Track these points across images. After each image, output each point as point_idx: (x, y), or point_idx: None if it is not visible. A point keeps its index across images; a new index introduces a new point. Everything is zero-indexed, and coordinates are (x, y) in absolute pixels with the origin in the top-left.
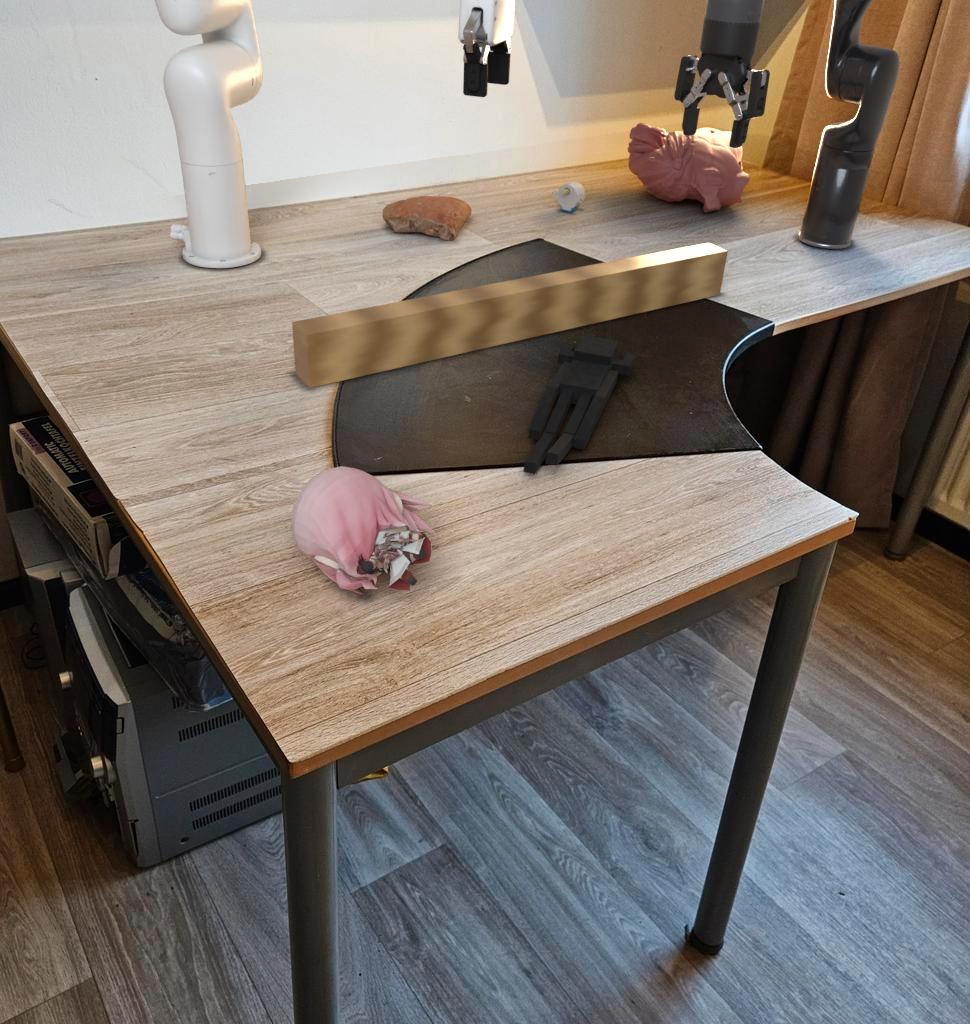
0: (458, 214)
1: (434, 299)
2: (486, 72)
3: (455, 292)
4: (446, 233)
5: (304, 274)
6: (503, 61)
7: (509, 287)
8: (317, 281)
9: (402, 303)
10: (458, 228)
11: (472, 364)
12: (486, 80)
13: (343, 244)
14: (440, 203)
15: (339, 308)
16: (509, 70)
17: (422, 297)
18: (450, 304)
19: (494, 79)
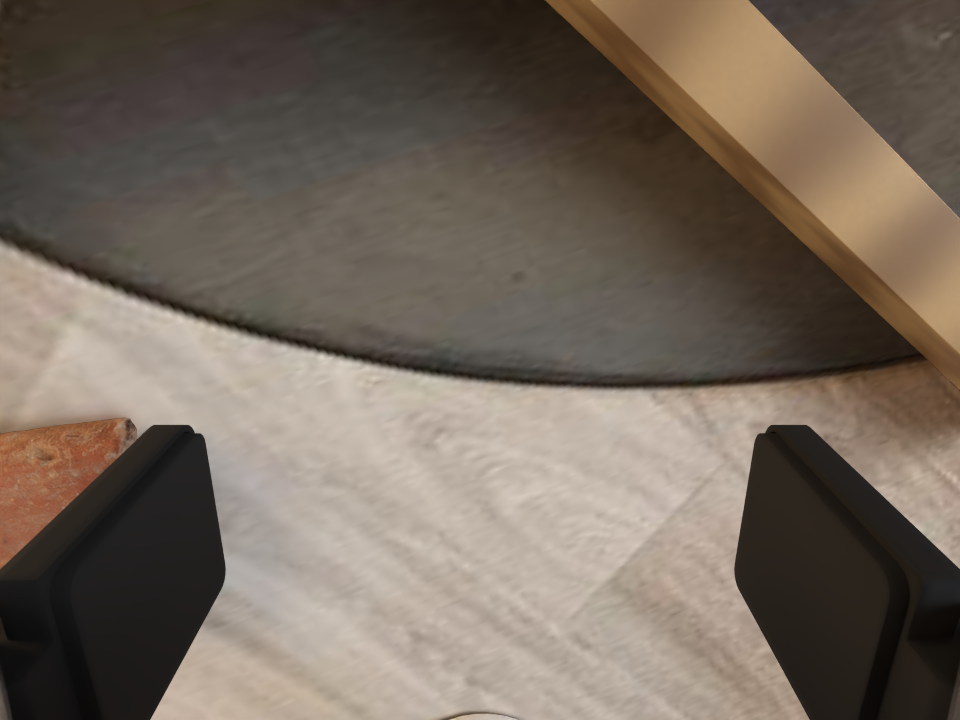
0: (33, 451)
1: (889, 240)
2: (918, 530)
3: (824, 205)
4: (131, 442)
5: (505, 613)
6: (120, 576)
7: (738, 66)
8: (531, 577)
9: (935, 306)
10: (89, 425)
11: (877, 104)
12: (867, 485)
13: (296, 619)
14: (18, 516)
15: (657, 483)
16: (106, 474)
17: (882, 275)
18: (916, 187)
19: (207, 539)
